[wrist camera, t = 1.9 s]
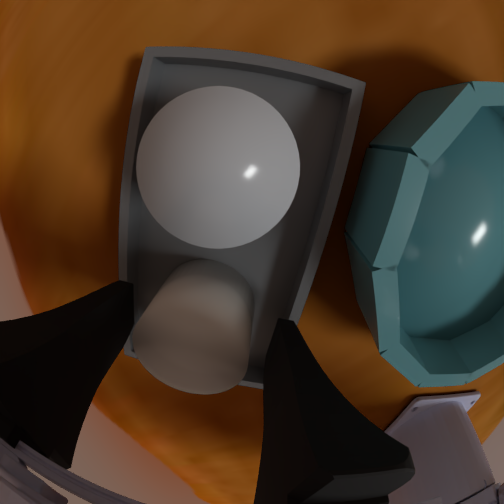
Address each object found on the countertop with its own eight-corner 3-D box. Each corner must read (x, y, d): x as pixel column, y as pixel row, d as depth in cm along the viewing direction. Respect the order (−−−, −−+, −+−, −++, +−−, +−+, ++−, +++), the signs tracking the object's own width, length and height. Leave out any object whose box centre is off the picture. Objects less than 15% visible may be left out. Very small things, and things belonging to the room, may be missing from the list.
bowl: (483, 345, 13) (507, 379, 9) (309, 326, 12) (317, 382, 9) (553, 159, 8) (591, 172, 4) (387, 40, 7) (427, 10, 4)
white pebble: (276, 223, 10) (277, 263, 7) (172, 201, 10) (130, 231, 7) (301, 117, 9) (317, 104, 6) (189, 97, 9) (150, 80, 5)
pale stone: (244, 345, 13) (236, 403, 9) (162, 325, 13) (136, 377, 9) (264, 271, 11) (260, 325, 8) (167, 249, 11) (130, 292, 8)
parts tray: (271, 369, 14) (270, 390, 12) (135, 336, 14) (124, 354, 12) (353, 89, 8) (366, 82, 7) (161, 57, 8) (146, 46, 7)
